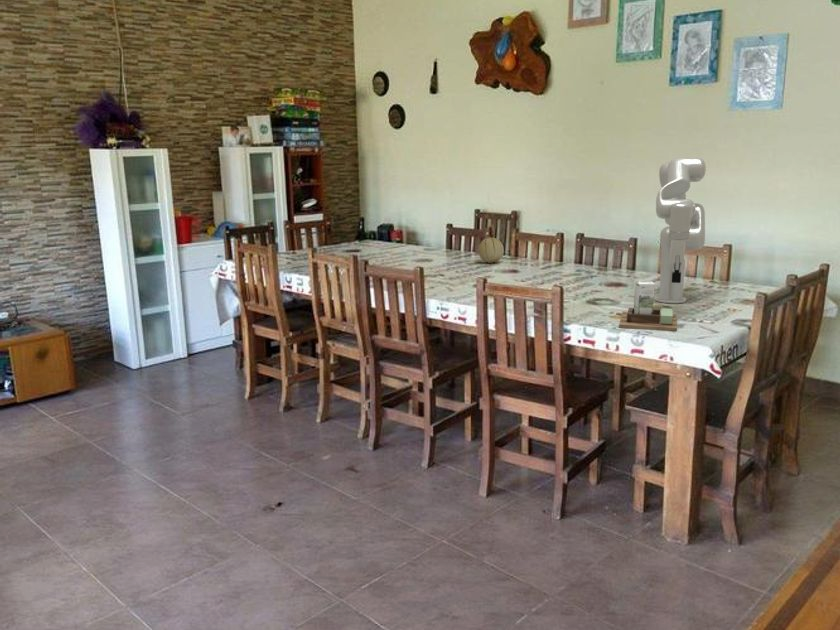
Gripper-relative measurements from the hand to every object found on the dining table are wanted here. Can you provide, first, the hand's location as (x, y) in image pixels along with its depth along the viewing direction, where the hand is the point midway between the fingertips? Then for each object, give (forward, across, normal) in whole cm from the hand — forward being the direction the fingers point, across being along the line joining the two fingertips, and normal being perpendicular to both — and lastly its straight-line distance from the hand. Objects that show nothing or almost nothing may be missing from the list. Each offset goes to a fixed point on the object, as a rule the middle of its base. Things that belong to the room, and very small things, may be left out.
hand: (676, 282), depth 282 cm
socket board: (+12, +15, -9) cm, 21 cm away
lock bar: (+11, +16, -3) cm, 19 cm away
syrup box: (+11, +16, -11) cm, 23 cm away
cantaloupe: (+21, -106, -100) cm, 147 cm away
